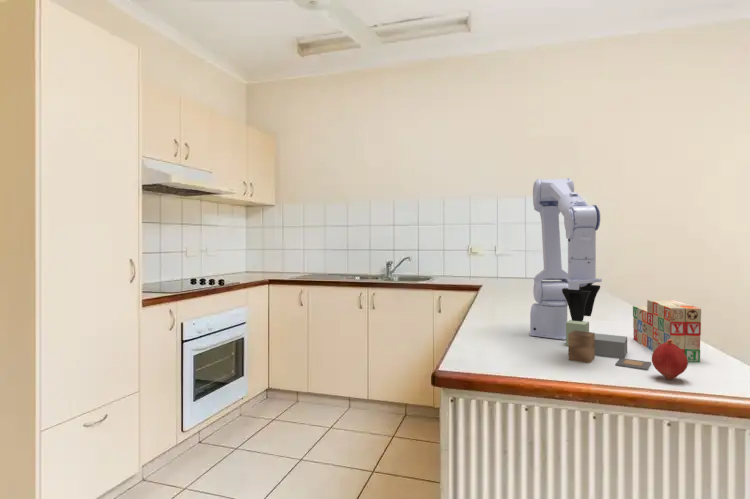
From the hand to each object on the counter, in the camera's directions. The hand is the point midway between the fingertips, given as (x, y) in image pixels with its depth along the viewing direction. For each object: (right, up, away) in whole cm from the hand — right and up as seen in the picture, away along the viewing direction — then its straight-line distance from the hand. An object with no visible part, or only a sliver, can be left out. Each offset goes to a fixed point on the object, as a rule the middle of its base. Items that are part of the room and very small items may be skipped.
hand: (581, 318), depth 99 cm
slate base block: (+9, -9, +5) cm, 14 cm away
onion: (+10, -10, -14) cm, 20 cm away
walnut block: (0, -9, 0) cm, 10 cm away
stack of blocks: (+24, -9, +7) cm, 26 cm away
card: (+9, -9, -4) cm, 14 cm away
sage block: (+5, -9, +13) cm, 17 cm away
